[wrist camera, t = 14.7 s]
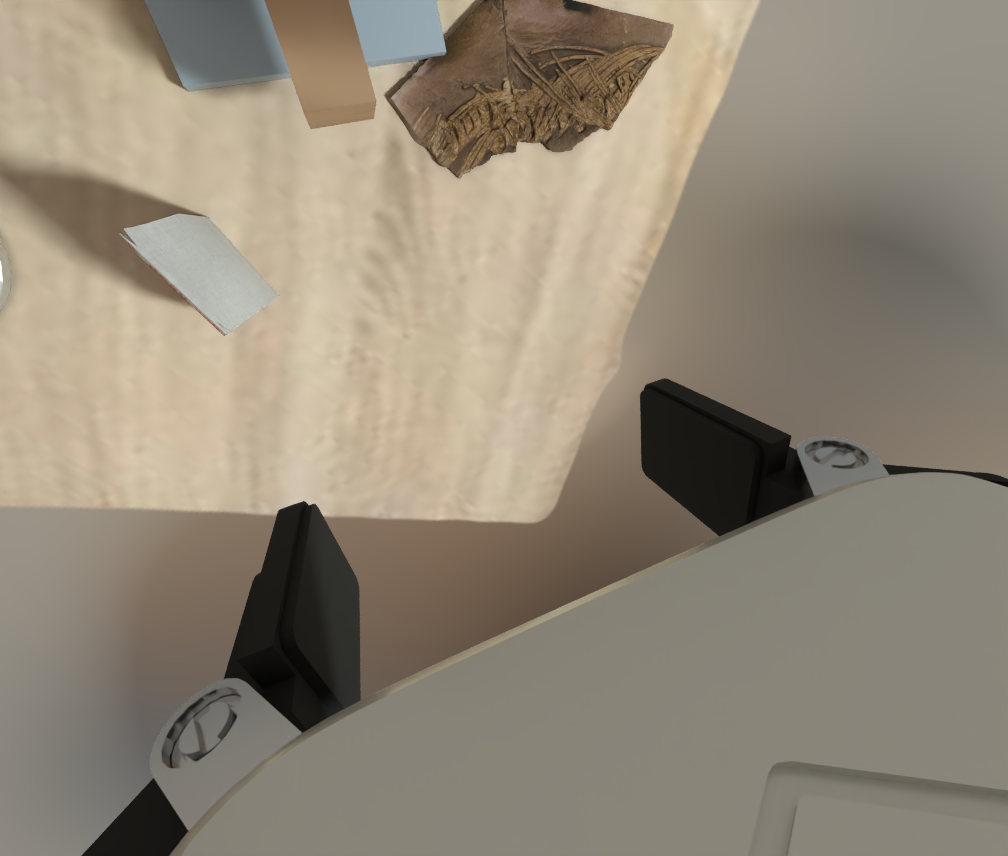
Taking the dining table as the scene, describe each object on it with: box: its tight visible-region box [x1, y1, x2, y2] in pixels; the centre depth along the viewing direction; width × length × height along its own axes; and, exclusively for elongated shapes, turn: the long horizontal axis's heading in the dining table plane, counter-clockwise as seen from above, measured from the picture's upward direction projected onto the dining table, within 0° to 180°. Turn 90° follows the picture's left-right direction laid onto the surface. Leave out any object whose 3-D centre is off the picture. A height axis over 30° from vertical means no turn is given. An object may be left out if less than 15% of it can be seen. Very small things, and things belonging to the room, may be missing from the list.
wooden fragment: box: [388, 0, 674, 179], centre depth 33 cm, size 26×11×1 cm, turn 103°
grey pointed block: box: [119, 214, 279, 336], centre depth 27 cm, size 4×7×10 cm, turn 31°
